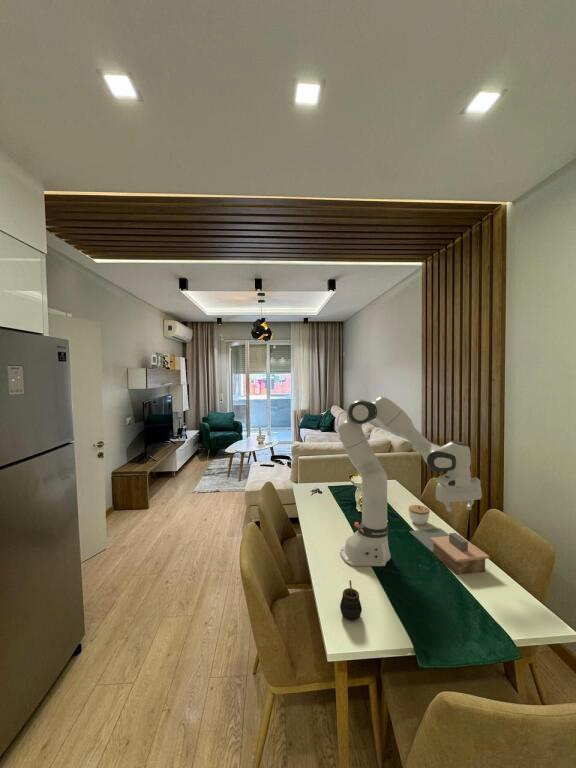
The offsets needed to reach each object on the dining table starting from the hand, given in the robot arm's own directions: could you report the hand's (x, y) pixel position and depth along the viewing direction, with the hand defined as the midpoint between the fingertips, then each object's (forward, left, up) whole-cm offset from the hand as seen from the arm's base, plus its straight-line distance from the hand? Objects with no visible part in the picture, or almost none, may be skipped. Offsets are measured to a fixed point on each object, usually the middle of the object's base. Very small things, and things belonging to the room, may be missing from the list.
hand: (458, 510), depth 143 cm
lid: (0, 0, -17) cm, 17 cm away
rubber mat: (+2, +19, -23) cm, 30 cm away
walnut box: (0, 0, -23) cm, 23 cm away
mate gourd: (-58, -22, -23) cm, 66 cm away
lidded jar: (+4, +38, -23) cm, 45 cm away
